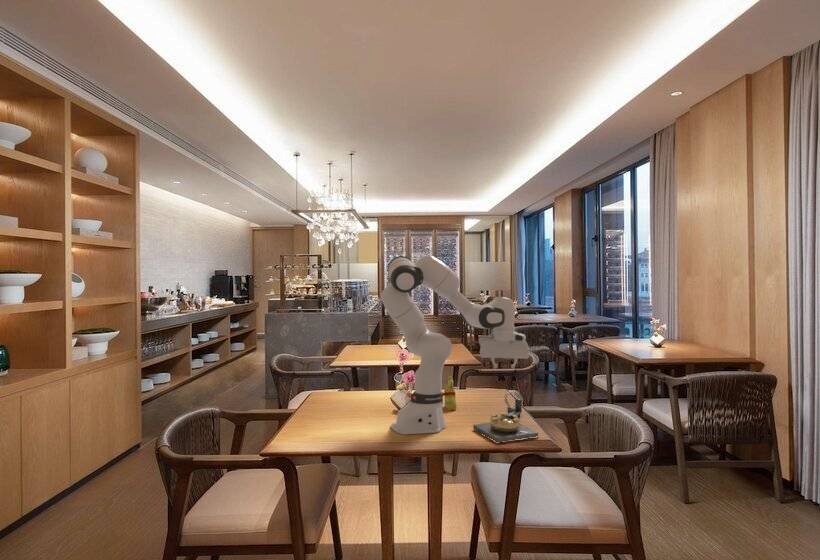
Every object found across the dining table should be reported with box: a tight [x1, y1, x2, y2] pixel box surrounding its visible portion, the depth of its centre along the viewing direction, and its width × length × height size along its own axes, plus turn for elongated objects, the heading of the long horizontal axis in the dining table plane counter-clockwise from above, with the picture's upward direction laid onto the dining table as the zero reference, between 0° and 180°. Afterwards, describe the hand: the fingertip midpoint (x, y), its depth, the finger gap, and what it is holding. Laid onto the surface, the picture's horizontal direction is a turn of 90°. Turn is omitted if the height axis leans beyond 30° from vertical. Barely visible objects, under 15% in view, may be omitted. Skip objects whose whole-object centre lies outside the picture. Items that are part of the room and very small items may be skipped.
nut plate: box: [472, 421, 539, 442], centre depth 186 cm, size 18×18×2 cm
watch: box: [504, 389, 524, 417], centre depth 211 cm, size 6×8×11 cm
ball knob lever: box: [490, 398, 523, 432], centre depth 189 cm, size 19×11×9 cm, turn 141°
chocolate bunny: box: [443, 375, 457, 411], centre depth 224 cm, size 7×11×15 cm, turn 8°
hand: (504, 368), depth 198 cm, fingers open, 6 cm apart
